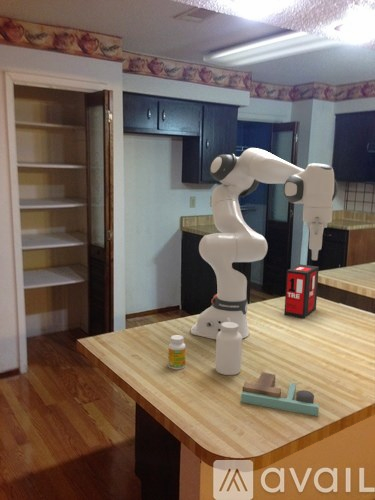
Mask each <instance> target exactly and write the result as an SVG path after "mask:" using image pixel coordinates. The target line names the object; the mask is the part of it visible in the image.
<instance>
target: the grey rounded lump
mask: <svg viewBox="0 0 375 500" xmlns="http://www.w3.org/2000/svg"><path fill="white" fill-rule="evenodd" d="M295 401H301V402H307V403H312V404H314V403H315V402H314V401H315V394H314V393H312V392H311V391H309V390H303V389H302V390H297V391H296V392H295Z"/></svg>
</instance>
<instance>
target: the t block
mask: <svg viewBox="0 0 375 500" xmlns="http://www.w3.org/2000/svg"><path fill="white" fill-rule="evenodd" d="M241 390H242V391H244V392H250V393H256V394H261V395H267V396H273V397H278V398H282V388H280V387H276V374H274V373H268V372H265V371H264V372H263V371H261V373H260V375H259V377H258V379H257V381H256V383H252V382H247V381H245V382H244V383H243V386H242V389H241ZM242 391H241V392H242Z"/></svg>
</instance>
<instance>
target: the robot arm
mask: <svg viewBox="0 0 375 500" xmlns="http://www.w3.org/2000/svg"><path fill="white" fill-rule="evenodd" d="M210 163H211V164H210V166H209V174H210V176H211V177H212V179H214V180H215V181H217V182H219V183H221V185H220V184H219V185H218V186H216V187H215V188H214V189H213V191H212V194H211V211H212V216H213V217H212V218H213V223H214V226H215V228H216V229H217V231H219V232H215V233H210V234H205V235H204V236H203V237H202V238H201V239H200V241H199V245H198V252H199V255H200V256H201V258H202V259H203V260H204V261H205V262H206V263H207V264H209V266H211V268H212V269H213V271H214V273H215V276H216V285H217V286H216V287H217V288H216V289H217V290H216V292H217V293H216V294H214V295H213V298H211V302H210V303H211V305H210V307H208V308H206V309H205V310H204V311H201V312H200V314H199V315H198V317H197V320H196V323H195V324H193V325H192V326H191V328H190V335H193V336H199V337H203V338H208V339H212V340H216V337H217V334H218V333H219V332H220V331H221V324H222V323H224V322H233V323H236V324H238V332H239V333H240V334H241V336H242V339H245V338H247V337H248V336H249V335H250V332H249V326H248V319H247V312H248V304H249V303H248V298H247V290H248V289H247V286H248V280H247V277H246V276H245V274H243V273H242V272H240V271H238V270H236V269H234V268H233V263H253V262H257V261H261V260H263V259H264V258H265V257H266V255H267V253H268V250H269V249H268V248H269V247H268V246H269V245H268V242H267V239H266V238H265V237H264V236H263V234H260V233H259V232H256V231H255V230H254V229H252V228H251V227H250V226H249V225H248V224H247V223H246V221H245V220H244V217H243V214H242V210H241V206H240V203H239V198H245V197H246V196H247V195H250V194H252V193H253V192H254V191H256V190H257V188H258V186H259V184H260V183H263V184H268V185H269V184H272V185H274V184H276V185H278V184H282V185H283V193H284V194H283V195H284V197H285V200H287V202H288V203H290V204H295V205H296V204H297V205H303V207H302V208H303V209H302V222H306V225H305V226H306V228H309V240H308V249H309V250H311V260H312V261H318V258H319V251H321V250H322V246H323V234H324V229H325V228H326V229H327V228H328V224H329V223H330V224H331V223H332V222H333V209H334V206H333V201H334V199H336V197H337V195H338V191H339V186H338V182H337V179H335V172H334V171H335V170H334V169H333V168H334V167H332V166H331V165H329V164H326V163H319V162H318V163H317V162H316V163H315V162H313V163H309V164H308V165H307V166H306V168H305V169H304V168H302V167H300V166H298V165H295V164H293V163H291V162H288V161H286V160H284V159H282V158H280V157H278V156H277V155H275V154H272V153H271V152H270V151H269V152H268V151H267V150H265V149H261V148H258V147H257V148H256V147H249V148H246V149H245V150H243V152H242V153H241V155H240V156H236V155H235V154H234V153H230V154H224V153H223V154H219V155H217V156H216V157H214V159H213V160H212V161H211V162H210Z"/></svg>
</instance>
